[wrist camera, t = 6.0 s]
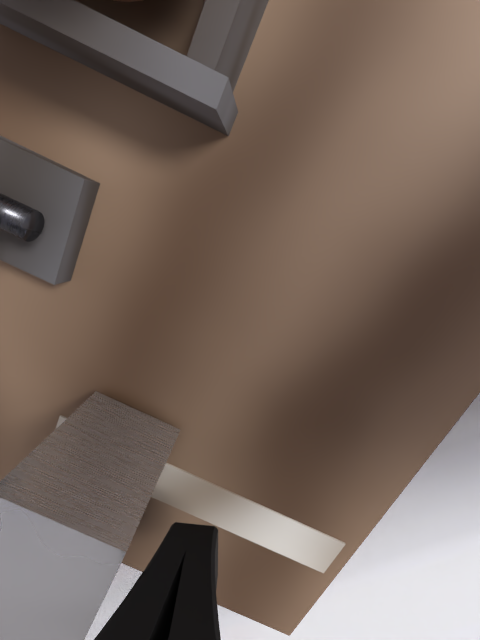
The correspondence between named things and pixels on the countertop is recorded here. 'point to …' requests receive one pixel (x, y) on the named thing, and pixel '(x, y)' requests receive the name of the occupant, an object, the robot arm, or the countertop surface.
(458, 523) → the countertop surface
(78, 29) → the control panel
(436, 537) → the countertop surface
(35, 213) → the toggle lever
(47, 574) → the gray rectangular block
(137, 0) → the push button
